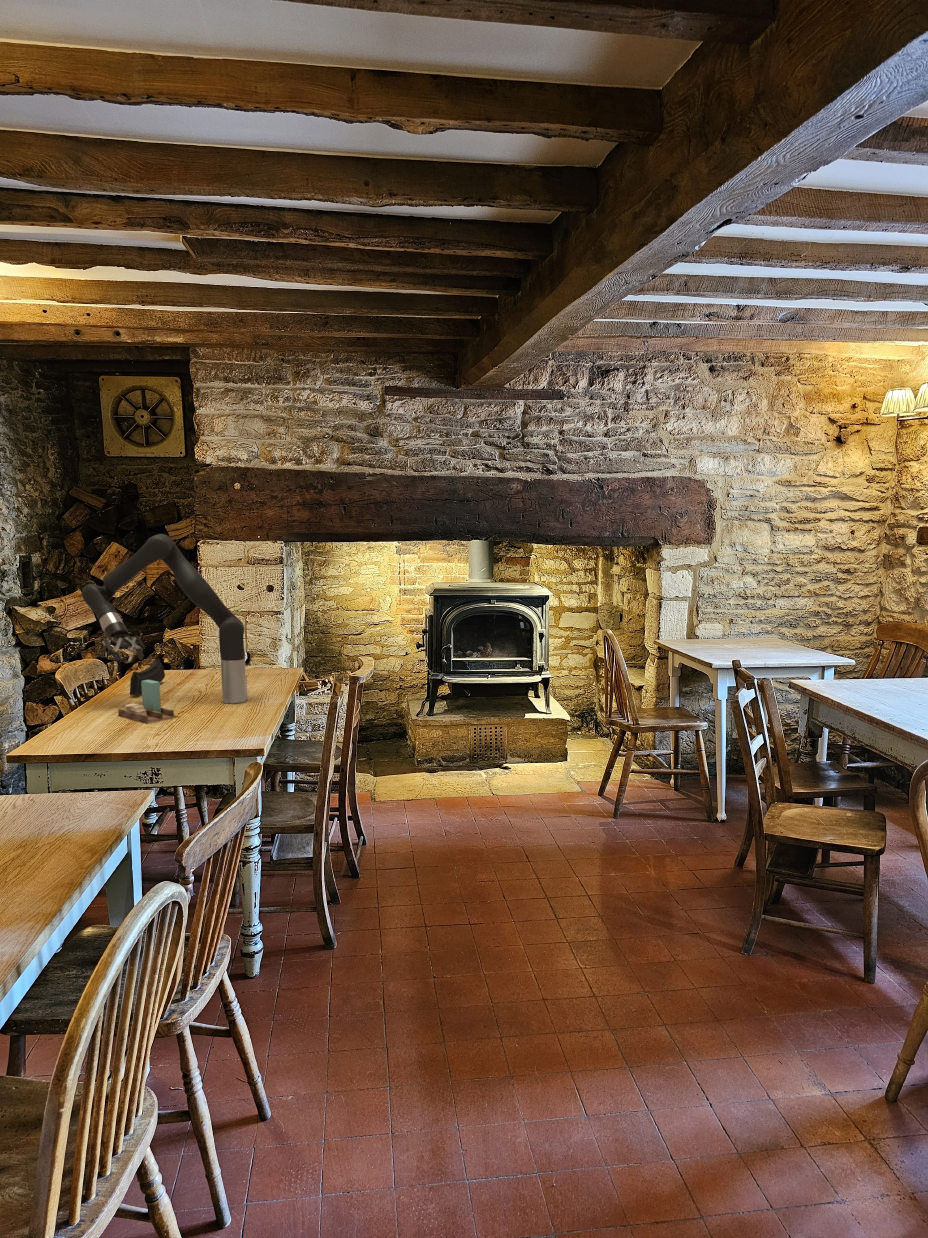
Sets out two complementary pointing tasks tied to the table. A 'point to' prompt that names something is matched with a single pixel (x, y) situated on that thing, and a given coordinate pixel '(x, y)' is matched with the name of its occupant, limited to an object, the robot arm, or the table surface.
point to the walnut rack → (148, 715)
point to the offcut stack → (136, 709)
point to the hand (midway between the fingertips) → (131, 660)
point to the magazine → (146, 677)
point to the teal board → (151, 695)
